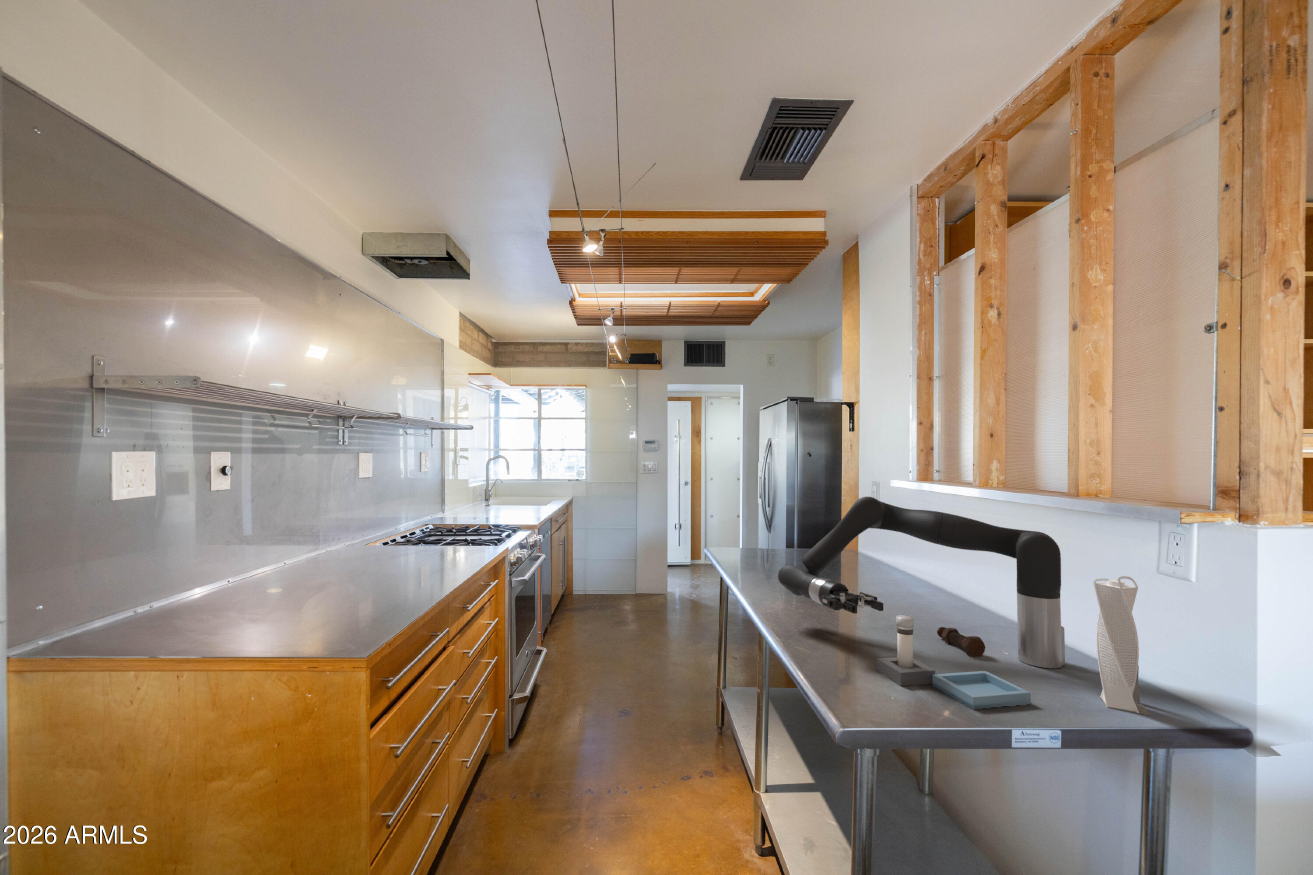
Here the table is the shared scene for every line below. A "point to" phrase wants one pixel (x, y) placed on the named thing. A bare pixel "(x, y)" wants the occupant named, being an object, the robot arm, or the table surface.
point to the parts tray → (981, 689)
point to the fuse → (905, 641)
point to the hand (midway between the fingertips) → (869, 608)
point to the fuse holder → (905, 672)
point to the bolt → (963, 641)
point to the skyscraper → (1118, 645)
